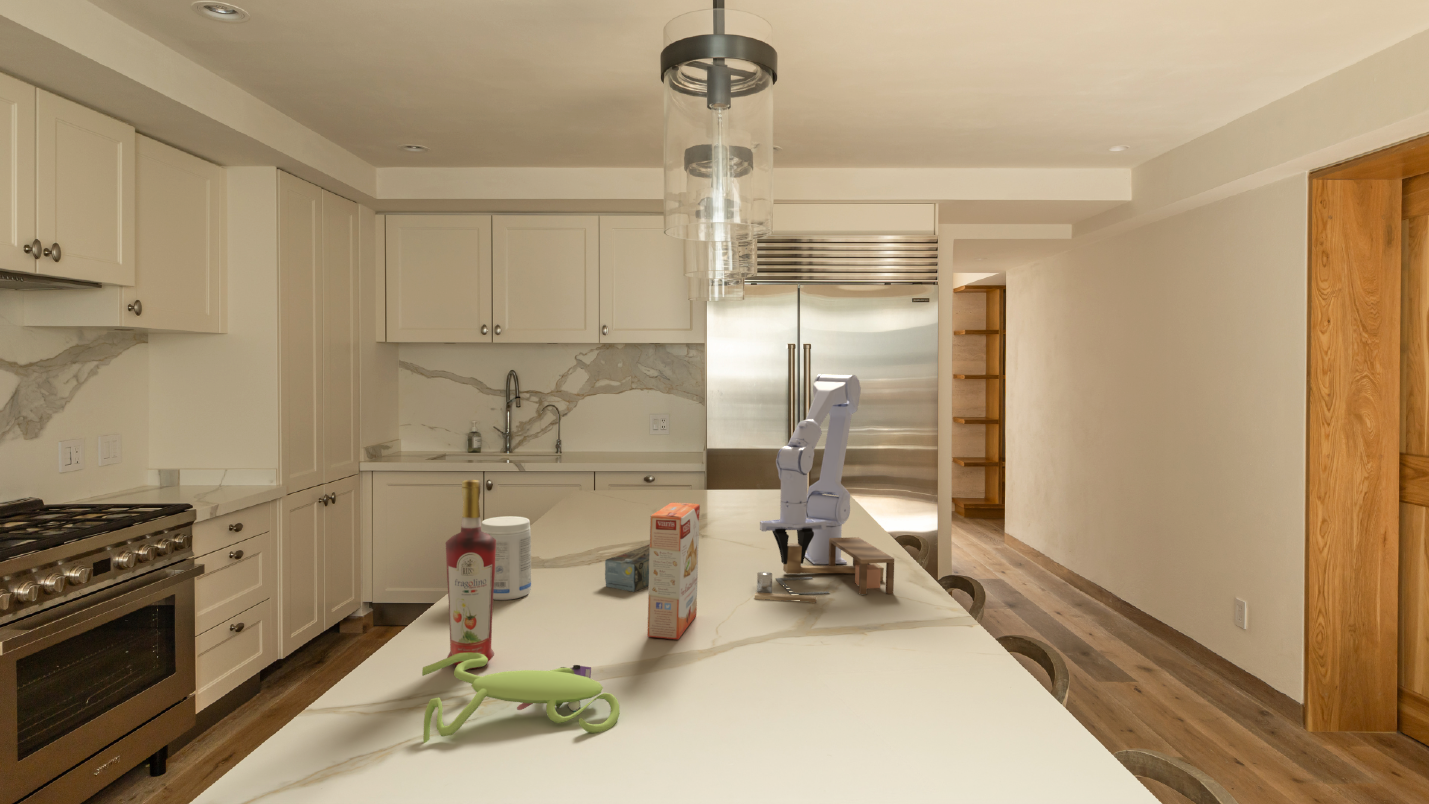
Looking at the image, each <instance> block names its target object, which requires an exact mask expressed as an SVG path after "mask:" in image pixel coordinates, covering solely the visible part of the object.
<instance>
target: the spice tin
mask: <svg viewBox="0 0 1429 804" xmlns="http://www.w3.org/2000/svg"><path fill="white" fill-rule="evenodd" d="M756 574H757V576H756V577H757V578H756V592H758V593H773V573H772V572H770V571H759V572H756Z"/></svg>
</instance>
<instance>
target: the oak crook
mask: <svg viewBox="0 0 1429 804" xmlns="http://www.w3.org/2000/svg"><path fill="white" fill-rule="evenodd" d="M801 553H802V546H801V545H799V544H798V542H794V543H790V542H788V546H787V564H783V568H782V571H784V573H785V574H790V575H791V574H792V575H793V574H796V575H797V574H799V575H801V574H855V566H853V565H835V566H828V565H802V564H801ZM867 565H875V566H876V567H878V568H879V569H881V577H880V582H883V581H884V572H885V571H884V569H885V568H884V566H881V565H880V564H879V563H867Z"/></svg>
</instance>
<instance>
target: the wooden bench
mask: <svg viewBox="0 0 1429 804" xmlns="http://www.w3.org/2000/svg"><path fill="white" fill-rule="evenodd" d="M836 547H838V548H839V549H841V552H843V553H845V554H846V555H849V557H851V558H852V566H855V565H859V586H858V594H859V593H860V594H866V595H867V589H868V588H867V563H877V564H886V565H885V593H886V594H888V595H894V587H895V584H894V581H895V580H894V579H895V558H894V557H892V556H890V555H889V554H888V553H886V552H884V551H883V550H881V549H880V548H877V547H876V546H874V545H872V544H871V543H869V542H867V541H866V540H864V539H862V538H861V537H859V536H858V537H853V536H852V537H841V538H829V564H827V566H836V564H835V560H836ZM860 594H859V595H860Z"/></svg>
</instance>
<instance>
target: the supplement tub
mask: <svg viewBox="0 0 1429 804" xmlns="http://www.w3.org/2000/svg"><path fill="white" fill-rule="evenodd" d="M531 529H532V528H531V522H530V519H529V518H527V517H525V516H515V515H513V516H509V515H507V516H497V517H496V516H495V517H489V518H486V519H484V520H481V531H482V532H484V533H487V534H489V535H491V536H492V537H493V538H494V539H496V555H495V577H494V592H493V601H494V600H495V601H496V600H497V601H500V600H501V601H507V600H509V601H510V600H517V599H520V598H522V597H526V596H527V595H529V593H530V592H531V591H532V541H531V540H532V534H531V532H532V531H531Z"/></svg>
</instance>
